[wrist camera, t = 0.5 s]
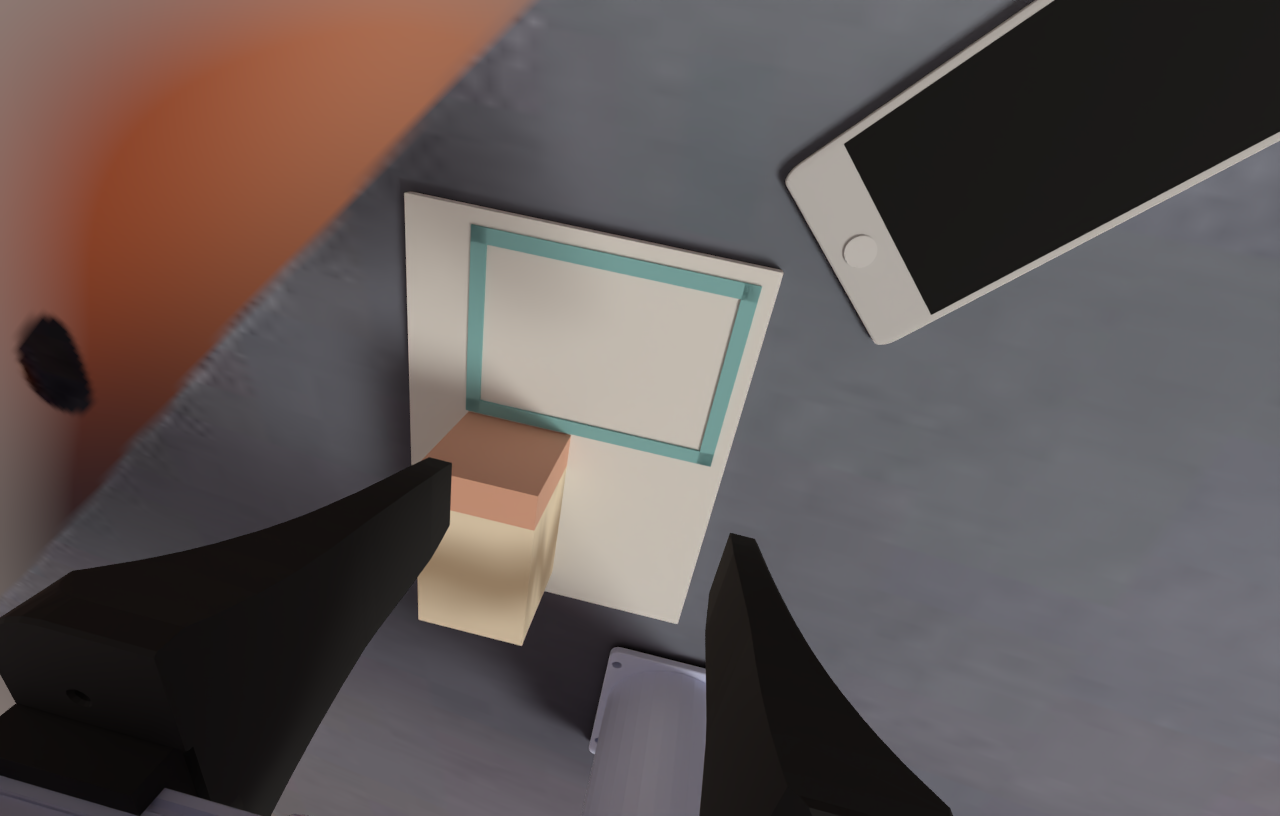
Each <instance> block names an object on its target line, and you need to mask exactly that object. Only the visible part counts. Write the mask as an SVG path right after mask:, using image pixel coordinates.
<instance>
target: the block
mask: <svg viewBox="0 0 1280 816" xmlns="http://www.w3.org/2000/svg"><path fill="white" fill-rule="evenodd" d="M570 439H571V435H568V434H564V433H560V432H555V431H551V430H547V429H542V428H538V427H534V426H529V425H525V424H521V423H517V422H512V421H508V420H504V419H499V418H495V417H491V416H487V415H482V414H478V413H474V412H468V413H467V414H466V415H465V416H464V417H463V418H462V419H461V420H460V421H459V422H458V423H457V424H456V425H455V426H454V427H453V428H452V429H451V430H450V431H449V432H448V433H447V434H446V435H445V436H444V437H443V439H442V440H441V441H440V442H439V443H438V444H437V445H436V446H435V447H434V448H433V449H432V450H431V451H430V452H429V453H428V454H427V455H426V456H425V457H424V458H423V459H422V460H424V459H426V458H428V457H431V458H435V459H439V460H443V461H447V462H451V463H452V478H451V506H450V526H449V528H448V530H447V531H446V533H445V535H444V537H443V539H442V541H441V542H440V544H439V546H438V548H437V549H436V551H435V553H434V555H433V556H432V558H431V560H430V561H429V562H428V564H427V565H426V566H425V568H424V569H423V571H422V572H421V573H420V575H419V576H418V618H419V620H422V621H426V622H430V623H434V624H437V625H441V626H445V627H449V628H453V629H457V630H461V631H465V632H469V633H473V634H477V635H481V636H484V637H488V638H492V639H496V640H500V641H504V642H508V643H512V644H516V645H520V646H522V644H523V641H524V639H525V637H526V634H527V632H528V629H529V627H530V624H531V622H532V620H533V617H534V615H535V612H536V610H537V607H538V605H539V603H540V600H541V598H542V595H543V593H544V590H545V588H546V586H547V583H548V581H549V578H550V576H551V574H552V571H553V564H554V557H555V549H556V542H557V535H558V527H559V520H560V513H561V505H562V498H563V491H564V483H565V476H566V469H567V461H568V454H569V447H570ZM422 460H421V461H422Z"/></svg>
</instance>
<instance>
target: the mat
mask: <svg viewBox="0 0 1280 816" xmlns="http://www.w3.org/2000/svg"><path fill="white" fill-rule="evenodd" d="M404 201H405V239H406V277H407V315H408V353H409V391H410V428H411V466H412V465H414V464H416V463H418V462H420V461H421V460H422V459H423V458H424V457H425V456H426V455H427V454H428V453H429V452H430V451H431V450H432V449H433V448H434V447H435V446H436V445H437V444H438V443H439V442H440V441H441V440H442V439H443V437H444V436H445V435H446V434H447V433H448V432H449V431H450V430H451V429H452V428H453V427H454V426H455V425H456V424H457V423H458V422H459V421H460V420H461V419H462V418H463V417H464V416H465V415H466V414H467V413H468V412H474V413H478V414H482V415H487V416H491V417H495V418H499V419H504V420H508V421H512V422H517V423H521V424H525V425H529V426H534V427H538V428H542V429H547V430H551V431H555V432H560V433H564V434H568V435H571V439H570V447H569V454H568V461H567V469H566V476H565V483H564V491H563V498H562V505H561V513H560V520H559V527H558V535H557V542H556V549H555V557H554V564H553V571H552V574H551V576H550V578H549V581H548V583H547V586H546V588H545V590H544V591H546V592H550V593H554V594H558V595H562V596H566V597H570V598H574V599H578V600H582V601H586V602H590V603H594V604H598V605H602V606H606V607H611V608H615V609H619V610H623V611H627V612H631V613H635V614H639V615H643V616H647V617H651V618H655V619H659V620H663V621H667V622H671V623H675V624H678V621H679V618H680V614H681V611H682V608H683V604H684V601H685V598H686V595H687V591H688V588H689V585H690V581H691V578H692V575H693V571H694V568H695V565H696V561H697V558H698V555H699V551H700V548H701V545H702V542H703V538H704V535H705V532H706V528H707V525H708V522H709V518H710V515H711V512H712V508H713V505H714V502H715V498H716V495H717V492H718V489H719V485H720V482H721V479H722V475H723V472H724V469H725V465H726V462H727V459H728V455H729V452H730V449H731V446H732V442H733V439H734V436H735V432H736V429H737V426H738V422H739V419H740V416H741V412H742V409H743V406H744V402H745V399H746V396H747V393H748V389H749V386H750V383H751V379H752V376H753V373H754V369H755V366H756V363H757V359H758V356H759V353H760V349H761V346H762V343H763V340H764V336H765V333H766V330H767V326H768V323H769V320H770V316H771V313H772V310H773V306H774V303H775V300H776V297H777V293H778V290H779V287H780V283H781V280H782V277H783V271H782V270H780V269H775V268H770V267H765V266H761V265H756V264H751V263H747V262H742V261H737V260H732V259H728V258H723V257H718V256H714V255H709V254H704V253H699V252H695V251H690V250H685V249H681V248H676V247H671V246H666V245H662V244H657V243H652V242H648V241H643V240H638V239H633V238H629V237H624V236H619V235H615V234H610V233H605V232H600V231H596V230H591V229H586V228H582V227H577V226H572V225H567V224H563V223H558V222H553V221H549V220H544V219H539V218H534V217H530V216H525V215H520V214H516V213H511V212H506V211H501V210H497V209H492V208H487V207H483V206H478V205H473V204H468V203H464V202H459V201H454V200H450V199H445V198H440V197H435V196H431V195H426V194H421V193H417V192H412V191H411V192H405V193H404Z"/></svg>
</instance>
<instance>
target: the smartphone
mask: <svg viewBox="0 0 1280 816" xmlns="http://www.w3.org/2000/svg"><path fill="white" fill-rule="evenodd" d="M1278 141H1280V0H1035V1H1033V2H1032V3H1030V4H1029V5H1027V6H1026V7H1024V8H1023V9H1022V10H1020V11H1019V12H1017V13H1016V14H1014V15H1013V16H1011V17H1010V18H1009V19H1007V20H1006V21H1004V22H1003V23H1001V24H1000V25H998V26H997V27H996V28H994V29H993V30H991V31H990V32H988V33H987V34H985V35H984V36H983V37H981V38H980V39H978V40H977V41H975V42H974V43H972V44H971V45H970V46H968V47H967V48H965V49H964V50H962V51H961V52H959V53H958V54H956V55H955V56H954V57H952V58H951V59H949V60H948V61H946V62H945V63H943V64H942V65H941V66H939V67H938V68H936V69H935V70H933V71H932V72H930V73H929V74H928V75H926V76H925V77H923V78H922V79H920V80H919V81H917V82H916V83H915V84H913V85H912V86H910V87H909V88H907V89H906V90H904V91H903V92H901V93H900V94H899V95H897V96H896V97H894V98H893V99H891V100H890V101H888V102H887V103H886V104H884V105H883V106H881V107H880V108H878V109H877V110H875V111H874V112H873V113H871V114H870V115H868V116H867V117H865V118H864V119H862V120H861V121H860V122H858V123H857V124H855V125H854V126H852V127H851V128H849V129H848V130H847V131H845V132H844V133H842V134H841V135H839V136H838V137H836V138H835V139H833V140H832V141H831V142H829V143H828V144H826V145H825V146H823V147H822V148H820V149H819V150H818V151H816V152H815V153H813V154H812V155H810V156H809V157H807V158H806V159H805V160H803V161H802V162H800V163H799V164H798V165H796V166H795V167H794V168H793V169H792V170H791V171H790V172H789V174H788V175H787V177H786V179H785V184H786V186H787V188H788V190H789V191H790V193H791V195H792V197H793V199H794V200H795V202H796V204H797V206H798V208H799V209H800V211H801V213H802V215H803V217H804V218H805V220H806V222H807V224H808V225H809V227H810V229H811V231H812V233H813V234H814V236H815V238H816V240H817V242H818V243H819V245H820V247H821V249H822V251H823V252H824V254H825V256H826V258H827V259H828V261H829V263H830V265H831V267H832V268H833V270H834V272H835V274H836V276H837V277H838V279H839V281H840V283H841V285H842V286H843V288H844V290H845V292H846V294H847V295H848V297H849V299H850V301H851V302H852V304H853V306H854V308H855V310H856V311H857V313H858V315H859V317H860V319H861V320H862V322H863V324H864V326H865V328H866V329H867V331H868V333H869V335H870V336H871V338H872V340H873V341H874V343H876V344H877V345H884V344H888V343H891V342H893V341H896V340H898V339H900V338H902V337H904V336H906V335H908V334H909V333H911V332H913V331H915V330H917V329H919V328H921V327H923V326H925V325H927V324H929V323H931V322H932V321H934V320H936V319H938V318H940V317H942V316H944V315H946V314H948V313H950V312H952V311H954V310H955V309H957V308H959V307H961V306H963V305H965V304H967V303H969V302H971V301H973V300H975V299H977V298H979V297H980V296H982V295H984V294H986V293H988V292H990V291H992V290H994V289H996V288H998V287H1000V286H1002V285H1003V284H1005V283H1007V282H1009V281H1011V280H1013V279H1015V278H1017V277H1019V276H1021V275H1023V274H1025V273H1026V272H1028V271H1030V270H1032V269H1034V268H1036V267H1038V266H1040V265H1042V264H1044V263H1046V262H1048V261H1049V260H1051V259H1053V258H1055V257H1057V256H1059V255H1061V254H1063V253H1065V252H1067V251H1069V250H1071V249H1073V248H1074V247H1076V246H1078V245H1080V244H1082V243H1084V242H1086V241H1088V240H1090V239H1092V238H1094V237H1096V236H1097V235H1099V234H1101V233H1103V232H1105V231H1107V230H1109V229H1111V228H1113V227H1115V226H1117V225H1119V224H1120V223H1122V222H1124V221H1126V220H1128V219H1130V218H1132V217H1134V216H1136V215H1138V214H1140V213H1142V212H1143V211H1145V210H1147V209H1149V208H1151V207H1153V206H1155V205H1157V204H1159V203H1161V202H1163V201H1165V200H1167V199H1168V198H1170V197H1172V196H1174V195H1176V194H1178V193H1180V192H1182V191H1184V190H1186V189H1188V188H1190V187H1191V186H1193V185H1195V184H1197V183H1199V182H1201V181H1203V180H1205V179H1207V178H1209V177H1211V176H1213V175H1214V174H1216V173H1218V172H1220V171H1222V170H1224V169H1226V168H1228V167H1230V166H1232V165H1234V164H1236V163H1238V162H1239V161H1241V160H1243V159H1245V158H1247V157H1249V156H1251V155H1253V154H1255V153H1257V152H1259V151H1261V150H1262V149H1264V148H1266V147H1268V146H1270V145H1272V144H1274V143H1276V142H1278Z"/></svg>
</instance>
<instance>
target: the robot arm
mask: <svg viewBox="0 0 1280 816" xmlns="http://www.w3.org/2000/svg"><path fill="white" fill-rule="evenodd" d="M451 478H452V463H451V462H447V461H443V460H439V459H435V458H431V457H428V458H426V459H424V460H422V461H420V462H418V463H416V464H414V465H412V466H410V467H408V468H406V469H404V470H402V471H400V472H398V473H396V474H394V475H392V476H390V477H388V478H386V479H384V480H382V481H380V482H377V483H375V484H373V485H371V486H369V487H367V488H365V489H363V490H361V491H359V492H357V493H355V494H352V495H350V496H348V497H346V498H343V499H341V500H339V501H336V502H334V503H332V504H330V505H327V506H325V507H323V508H320V509H318V510H316V511H313V512H311V513H308V514H306V515H303V516H300V517H298V518H295V519H292V520H290V521H287V522H284V523H281V524H278V525H275V526H272V527H270V528H266V529H263V530H260V531H257V532H253V533H250V534H246V535H243V536H239V537H236V538H232V539H229V540H226V541H222V542H219V543H215V544H211V545H207V546H203V547H199V548H195V549H191V550H186V551H182V552H177V553H173V554H168V555H163V556H159V557H154V558H148V559H143V560H138V561H132V562H126V563H120V564H114V565H108V566H101V567H95V568H89V569H82V570H75V571H72V572H70V573H68V574H67V575H65V576H64V577H62V578H61V579H59V580H57V581H56V582H54V583H53V584H51V585H50V586H48V587H47V588H45V589H44V590H42V591H40V592H39V593H37V594H36V595H34V596H33V597H31V598H30V599H28V600H27V601H25V602H23V603H22V604H20V605H19V606H17V607H16V608H14V609H13V610H11V611H10V612H8V613H6V614H5V615H3V616H2V617H0V675H1V676H2V678H3V680H4V682H5V684H6V685H7V687H8V689H9V691H10V693H11V695H12V697H13V698H14V700H15V702H16V704H15V705H14V706H12V707H11V708H10V709H9V710H7V711H6V712H5V713H4V714H2V715H1V716H0V816H271V814H272V812H273V810H274V808H275V806H276V804H277V802H278V801H279V799H280V797H281V795H282V793H283V791H284V789H285V787H286V785H287V783H288V781H289V779H290V777H291V775H292V774H293V772H294V770H295V768H296V766H297V764H298V763H299V761H300V759H301V757H302V755H303V754H304V752H305V750H306V748H307V746H308V744H309V743H310V741H311V739H312V737H313V735H314V734H315V732H316V730H317V728H318V726H319V725H320V723H321V721H322V719H323V718H324V716H325V714H326V713H327V711H328V709H329V707H330V706H331V704H332V702H333V700H334V699H335V697H336V695H337V694H338V692H339V690H340V688H341V687H342V685H343V683H344V682H345V680H346V678H347V677H348V675H349V674H350V672H351V670H352V669H353V667H354V665H355V664H356V662H357V660H358V659H359V657H360V656H361V654H362V652H363V651H364V649H365V647H366V646H367V645H368V643H369V642H370V640H371V639H372V637H373V636H374V635H375V633H376V632H377V630H378V629H379V628H380V626H381V625H382V624H383V622H384V621H385V620H386V618H387V617H388V616H389V614H390V613H391V612H392V610H393V609H394V608H395V606H396V605H397V604H398V602H399V601H400V600H401V599H402V597H403V596H404V595H405V593H406V592H407V591H408V589H409V588H410V587H411V585H412V584H413V583H414V581H415V580H416V579H417V577H418V576H419V575H420V573H421V572H422V571H423V569H424V568H425V566H426V565H427V564H428V562H429V561H430V560H431V558H432V556H433V555H434V553H435V551H436V549H437V548H438V546H439V544H440V542H441V541H442V539H443V537H444V535H445V533H446V531H447V530H448V528H449V526H450V506H451ZM705 650H706V669H705V668H701V667H697V666H693V665H689V664H685V663H681V662H677V661H674V660H670V659H666V658H662V657H658V656H654V655H650V654H646V653H642V652H638V651H634V650H630V649H626V648H622V647H614V648H613V649H612V650H611V651H610V656H609V660H608V665H607V669H606V673H605V678H604V682H603V687H602V691H601V696H600V700H599V705H598V709H597V713H596V718H595V722H594V727H593V731H592V736H591V740H590V744H589V750H590V752H591V753H593V754H595V756H594V761H593V765H592V770H591V774H590V779H589V783H588V788H587V792H586V797H585V802H584V806H583V811H582V815H581V816H953V814H952V812H951V809H950V808H949V807H948V806H947V805H946V804H945V803H944V802H943V801H942V800H941V799H940V798H939V797H938V796H937V795H936V794H935V793H934V792H933V791H932V790H931V789H929V788H928V787H927V786H926V785H925V784H924V783H923V782H922V781H921V780H920V779H919V778H918V777H917V776H916V775H915V774H914V773H913V772H912V771H911V770H910V769H909V768H908V767H907V766H906V765H905V764H904V763H903V762H902V761H901V760H900V759H899V758H898V757H897V756H896V755H895V754H894V753H893V752H892V751H891V750H890V748H889V747H888V746H887V745H886V744H885V743H884V742H883V741H882V740H881V739H880V738H879V737H878V736H877V734H876V733H875V732H874V731H873V730H872V729H871V728H870V726H869V725H868V724H867V723H866V722H865V721H864V720H863V718H862V717H861V716H860V715H859V713H858V712H857V711H856V710H855V709H854V707H853V706H852V705H851V704H850V702H849V701H848V700H847V699H846V697H845V696H844V695H843V694H842V692H841V691H840V690H839V688H838V687H837V686H836V685H835V683H834V682H833V681H832V679H831V678H830V676H829V675H828V674H827V672H826V671H825V669H824V668H823V666H822V665H821V663H820V662H819V661H818V659H817V658H816V656H815V655H814V653H813V652H812V650H811V648H810V647H809V645H808V644H807V642H806V640H805V639H804V637H803V635H802V633H801V632H800V630H799V628H798V627H797V625H796V623H795V621H794V620H793V618H792V616H791V614H790V612H789V610H788V608H787V606H786V604H785V603H784V601H783V599H782V597H781V595H780V593H779V591H778V589H777V587H776V585H775V583H774V581H773V578H772V576H771V574H770V572H769V570H768V567H767V565H766V563H765V561H764V558H763V556H762V554H761V551H760V549H759V547H758V544H757V542H756V541H755V539H753V538H749V537H745V536H741V535H737V534H733V533H730V535H729V538H728V541H727V543H726V546H725V549H724V552H723V555H722V558H721V561H720V564H719V567H718V569H717V572H716V575H715V578H714V581H713V584H712V587H711V590H710V593H709V602H708V610H707V620H706V630H705ZM289 816H308V815H301V814H292V815H289Z"/></svg>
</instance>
